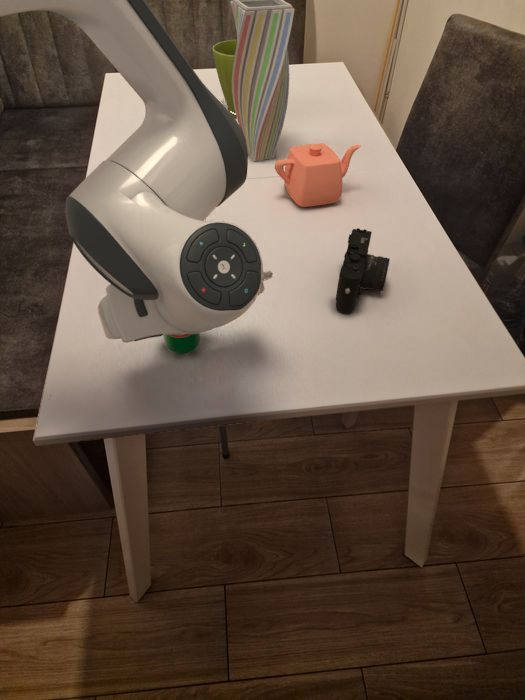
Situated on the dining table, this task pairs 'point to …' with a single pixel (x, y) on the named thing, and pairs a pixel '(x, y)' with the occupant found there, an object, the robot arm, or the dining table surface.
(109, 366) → the dining table surface
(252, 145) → the vase
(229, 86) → the flower pot
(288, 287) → the dining table surface
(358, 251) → the camera
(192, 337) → the soda can
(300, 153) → the teapot
